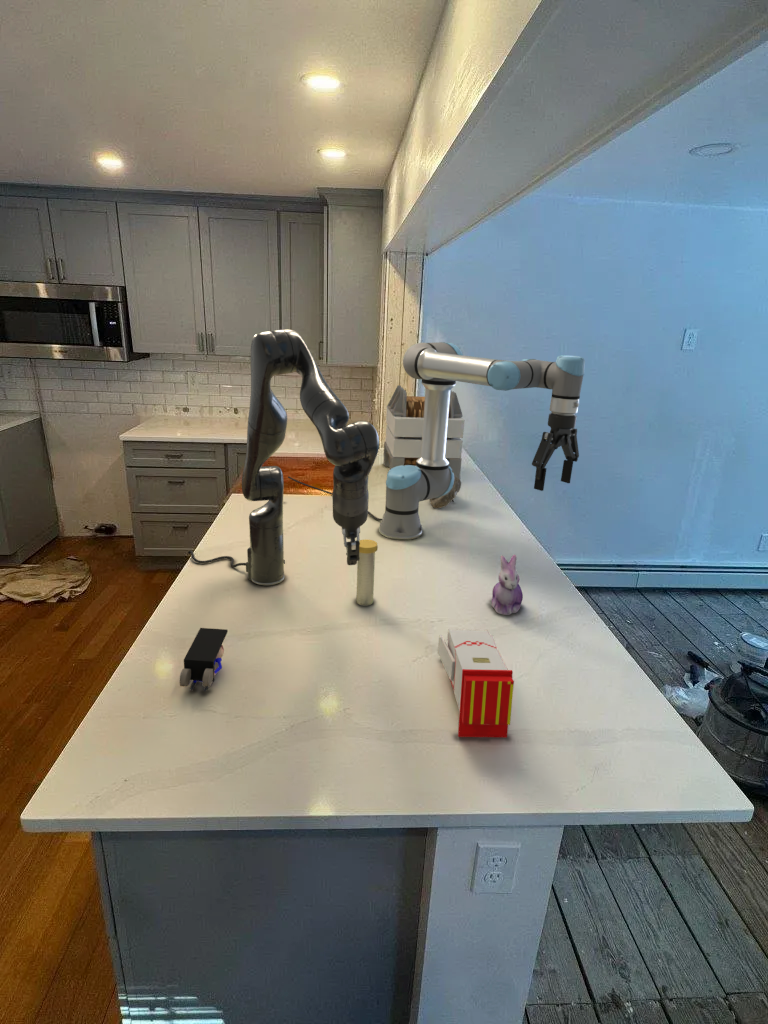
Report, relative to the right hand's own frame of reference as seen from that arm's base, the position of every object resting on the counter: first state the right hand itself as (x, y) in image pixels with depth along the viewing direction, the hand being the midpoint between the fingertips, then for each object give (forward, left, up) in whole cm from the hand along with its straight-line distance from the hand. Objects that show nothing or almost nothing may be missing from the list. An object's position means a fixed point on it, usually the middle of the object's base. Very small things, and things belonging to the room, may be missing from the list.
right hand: (552, 485), depth 166 cm
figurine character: (-12, -102, -28) cm, 107 cm away
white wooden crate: (-101, +46, -28) cm, 115 cm away
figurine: (+8, -26, -28) cm, 39 cm away
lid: (-18, -55, -11) cm, 59 cm away
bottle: (-18, -55, -28) cm, 64 cm away
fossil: (-64, +25, -28) cm, 74 cm away
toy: (+26, -62, -28) cm, 72 cm away
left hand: (-8, -68, -6) cm, 69 cm away
